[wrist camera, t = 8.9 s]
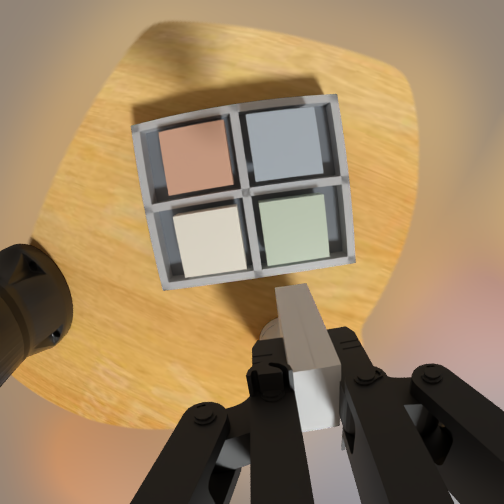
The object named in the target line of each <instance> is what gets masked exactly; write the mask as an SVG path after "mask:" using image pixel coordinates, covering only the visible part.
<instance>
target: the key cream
mask: <svg viewBox="0 0 504 504" xmlns="http://www.w3.org/2000/svg"><path fill="white" fill-rule="evenodd" d="M173 221H174V226H175V231H176V236H177V241H178V246H179V250H180V255H181V260H182V265H183V269H184V274H185V278H187V277H194V276H202V275H209V274H216V273H223V272H230V271H237V270H244V269H247V261H246V254H245V248H244V242H243V235H242V229H241V223H240V217H239V210H238V204H232V205H226V206H219V207H213V208H207V209H201V210H195V211H189V212H183V213H178V214H176V215H175V216H173Z"/></svg>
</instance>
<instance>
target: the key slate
mask: <svg viewBox="0 0 504 504" xmlns="http://www.w3.org/2000/svg"><path fill="white" fill-rule="evenodd" d="M246 123H247V129H248V136H249V142H250V149H251V155H252V162H253V169H254V175H255V181H256V182H259V181H266V180H273V179H280V178H288V177H296V176H304V175H313V174H321V173H323V165H322V157H321V150H320V143H319V136H318V129H317V122H316V116H315V110H314V107H307V108H296V109H286V110H277V111H268V112H260V113H253V114H246Z"/></svg>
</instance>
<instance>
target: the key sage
mask: <svg viewBox="0 0 504 504" xmlns="http://www.w3.org/2000/svg"><path fill="white" fill-rule="evenodd" d="M258 203H259V210H260V217H261V224H262V231H263V238H264V245H265V252H266V259H267V264H268V266H271V265H278V264H285V263H292V262H298V261H305V260H312V259H318V258H325V257H330V255H329V243H328V232H327V221H326V211H325V202H324V194H322V193H319V192H318V193H310V194H302V195H295V196H287V197H280V198H273V199H266V200H259V201H258Z"/></svg>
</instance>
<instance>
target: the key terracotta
mask: <svg viewBox="0 0 504 504" xmlns="http://www.w3.org/2000/svg"><path fill="white" fill-rule="evenodd" d="M159 139H160V146H161V152H162V159H163V165H164V171H165V177H166V183H167V188H168V194H169V196H170V195H176V194H181V193H187V192H192V191H198V190H204V189H210V188H216V187H222V186H228V185H233V184H234V178H233V172H232V166H231V159H230V153H229V146H228V140H227V133H226V127H225V122H224V120H218V121H212V122H206V123H201V124H196V125H191V126H186V127H181V128H176V129H171V130H167V131H162V132H159Z"/></svg>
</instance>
